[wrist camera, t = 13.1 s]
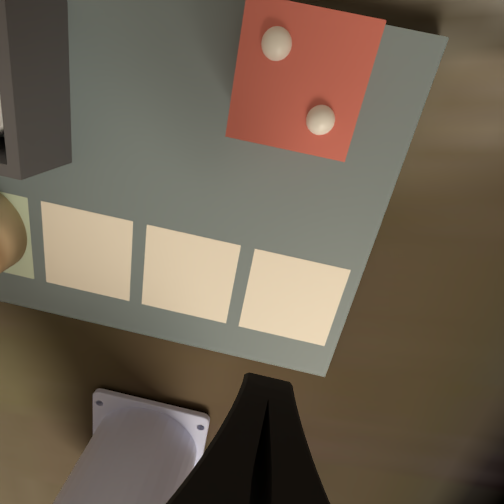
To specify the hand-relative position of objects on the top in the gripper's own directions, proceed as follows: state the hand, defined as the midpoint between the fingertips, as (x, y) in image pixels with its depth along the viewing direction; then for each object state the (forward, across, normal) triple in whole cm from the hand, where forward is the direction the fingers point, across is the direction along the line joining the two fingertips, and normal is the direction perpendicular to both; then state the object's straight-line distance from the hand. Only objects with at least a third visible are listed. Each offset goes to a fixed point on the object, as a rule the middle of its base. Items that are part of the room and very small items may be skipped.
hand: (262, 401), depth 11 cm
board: (+9, +9, -2) cm, 13 cm away
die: (+8, +1, -8) cm, 12 cm away
